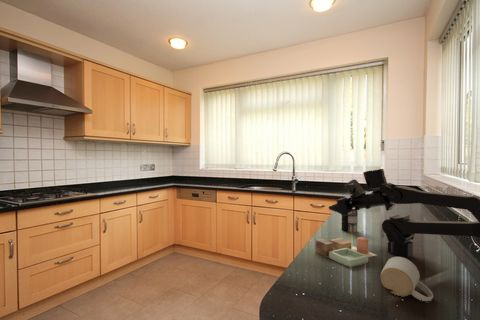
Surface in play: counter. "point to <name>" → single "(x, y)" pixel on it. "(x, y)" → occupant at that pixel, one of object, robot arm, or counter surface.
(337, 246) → the light brown wooden block
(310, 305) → the counter surface
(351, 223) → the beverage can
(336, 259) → the tray
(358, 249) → the reddish orange cube
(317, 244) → the brown block
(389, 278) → the ceramic mug
